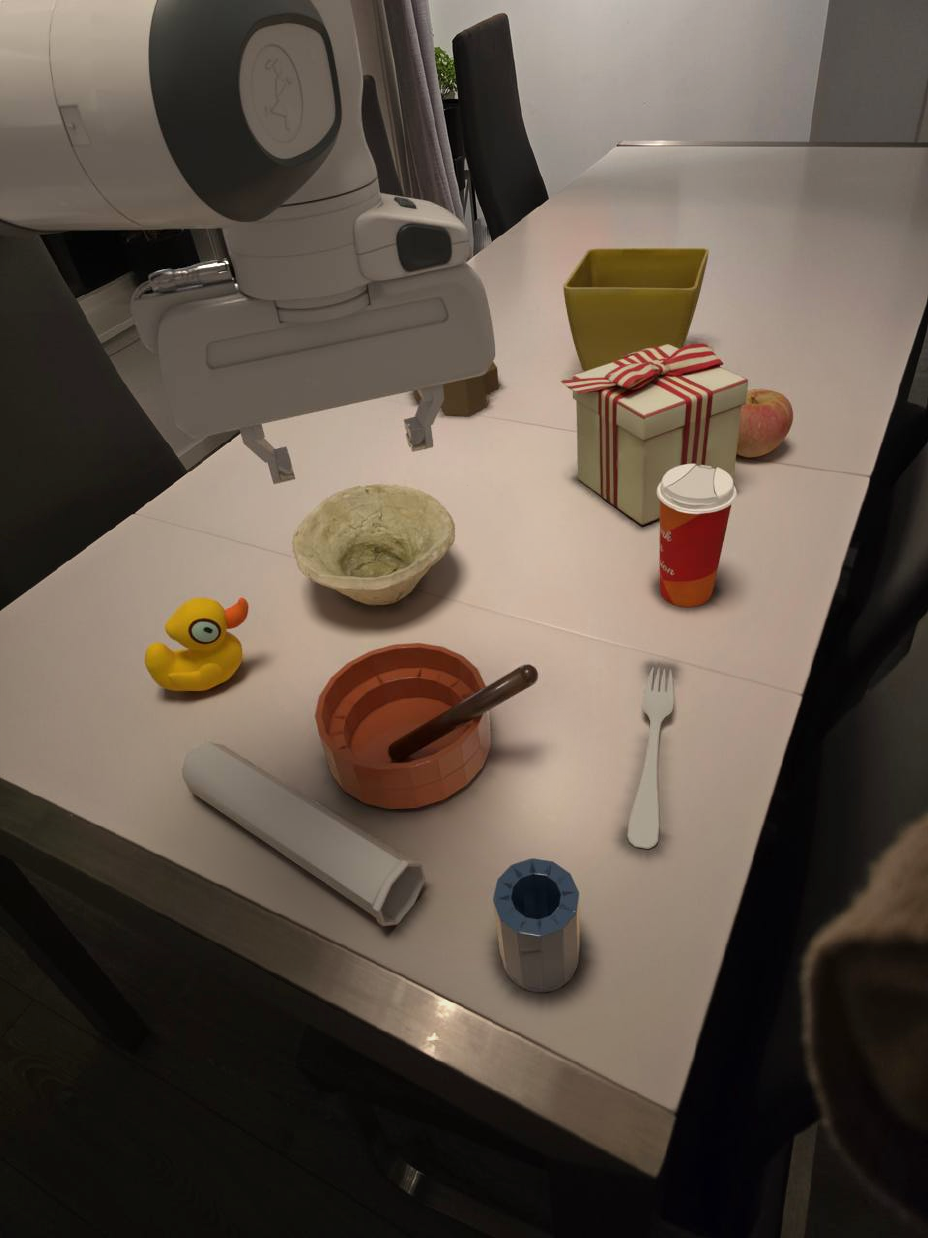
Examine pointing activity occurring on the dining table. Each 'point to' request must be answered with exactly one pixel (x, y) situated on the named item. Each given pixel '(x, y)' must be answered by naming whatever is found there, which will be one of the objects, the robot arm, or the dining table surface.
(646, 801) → the fork
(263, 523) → the dining table surface
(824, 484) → the dining table surface
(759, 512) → the dining table surface
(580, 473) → the gift box
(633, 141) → the dining table surface
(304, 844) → the tube
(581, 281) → the flower pot
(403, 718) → the orange round shallow dish
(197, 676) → the duckling
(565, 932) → the crock
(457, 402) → the candle
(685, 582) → the paper cup
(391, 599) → the bowl
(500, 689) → the stirring stick
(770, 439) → the apple
